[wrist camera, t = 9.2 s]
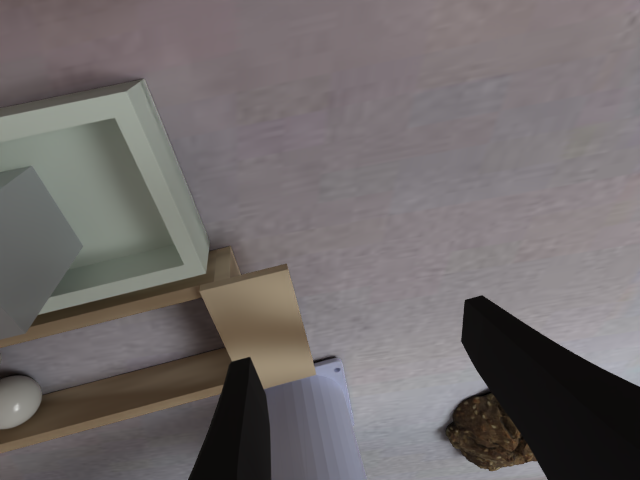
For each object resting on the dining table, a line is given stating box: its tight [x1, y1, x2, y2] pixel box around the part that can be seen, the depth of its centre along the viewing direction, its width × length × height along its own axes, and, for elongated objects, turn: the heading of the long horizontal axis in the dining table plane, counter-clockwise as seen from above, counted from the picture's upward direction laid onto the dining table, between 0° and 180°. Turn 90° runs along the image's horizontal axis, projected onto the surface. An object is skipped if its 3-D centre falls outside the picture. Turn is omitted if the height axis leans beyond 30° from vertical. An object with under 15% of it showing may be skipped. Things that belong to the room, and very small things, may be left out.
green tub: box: [0, 79, 210, 315], centre depth 16 cm, size 9×16×3 cm, turn 100°
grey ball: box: [0, 375, 42, 429], centre depth 22 cm, size 3×3×3 cm
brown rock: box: [446, 393, 537, 471], centre depth 36 cm, size 13×12×5 cm
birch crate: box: [0, 246, 316, 453], centre depth 21 cm, size 9×24×4 cm, turn 100°
